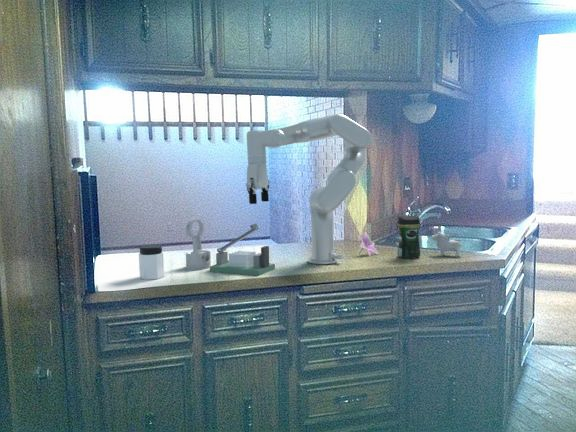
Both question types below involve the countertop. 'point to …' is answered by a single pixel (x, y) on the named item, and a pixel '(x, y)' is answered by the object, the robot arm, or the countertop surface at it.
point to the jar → (151, 262)
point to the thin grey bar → (239, 238)
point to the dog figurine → (446, 243)
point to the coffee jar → (408, 237)
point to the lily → (367, 244)
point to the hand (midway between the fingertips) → (259, 202)
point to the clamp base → (241, 270)
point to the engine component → (197, 249)
